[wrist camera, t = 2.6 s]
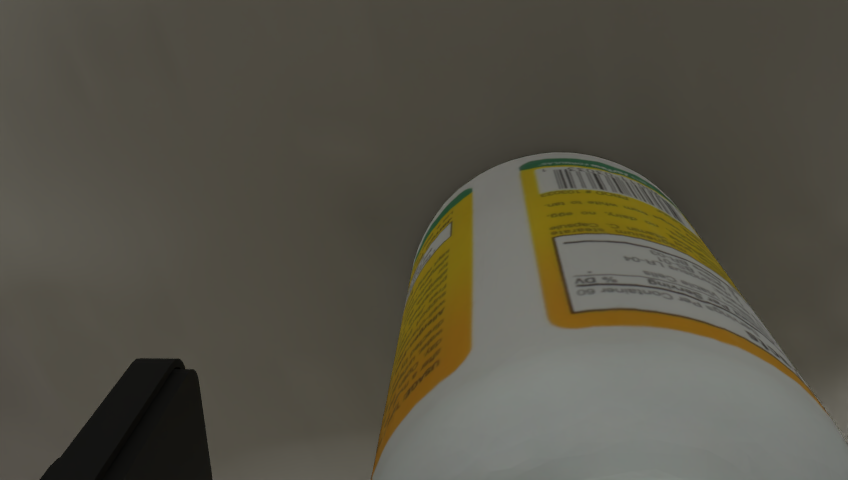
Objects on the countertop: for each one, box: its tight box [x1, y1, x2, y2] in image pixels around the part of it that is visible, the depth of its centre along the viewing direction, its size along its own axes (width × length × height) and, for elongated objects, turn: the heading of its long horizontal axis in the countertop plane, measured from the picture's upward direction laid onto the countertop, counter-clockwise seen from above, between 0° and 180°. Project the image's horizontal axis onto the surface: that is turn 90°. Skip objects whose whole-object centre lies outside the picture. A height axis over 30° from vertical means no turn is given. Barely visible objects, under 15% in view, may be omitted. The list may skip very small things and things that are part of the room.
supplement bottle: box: [371, 152, 848, 480], centre depth 10 cm, size 5×5×10 cm
